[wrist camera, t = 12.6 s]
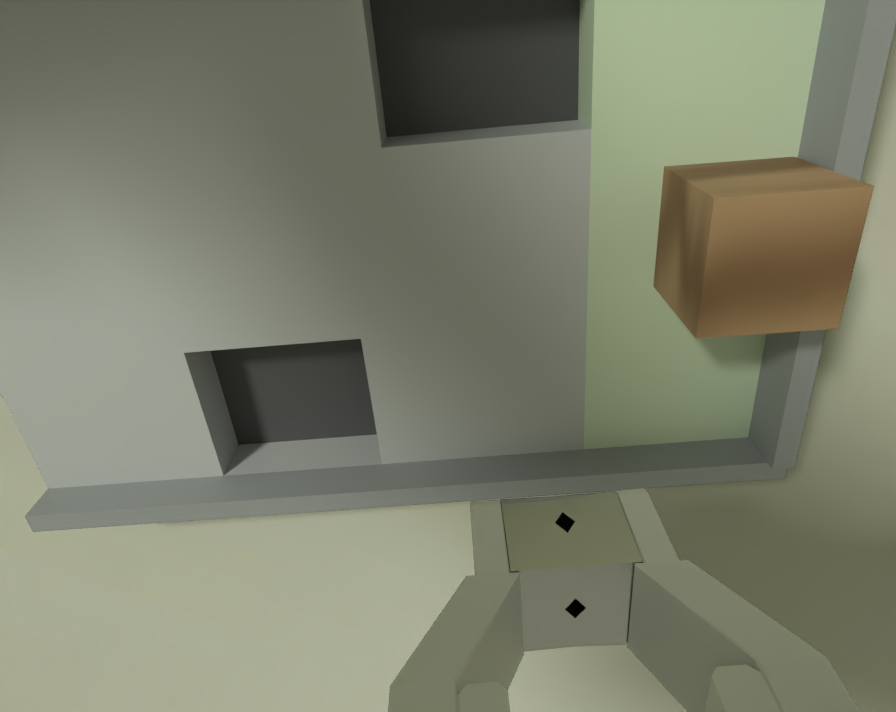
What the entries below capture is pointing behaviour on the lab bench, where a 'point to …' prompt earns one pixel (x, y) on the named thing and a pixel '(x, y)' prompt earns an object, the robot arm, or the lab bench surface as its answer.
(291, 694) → the lab bench surface
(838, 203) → the walnut block
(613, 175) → the box
